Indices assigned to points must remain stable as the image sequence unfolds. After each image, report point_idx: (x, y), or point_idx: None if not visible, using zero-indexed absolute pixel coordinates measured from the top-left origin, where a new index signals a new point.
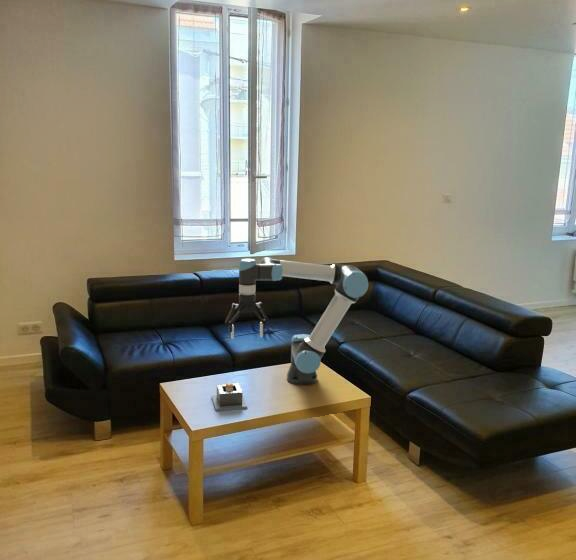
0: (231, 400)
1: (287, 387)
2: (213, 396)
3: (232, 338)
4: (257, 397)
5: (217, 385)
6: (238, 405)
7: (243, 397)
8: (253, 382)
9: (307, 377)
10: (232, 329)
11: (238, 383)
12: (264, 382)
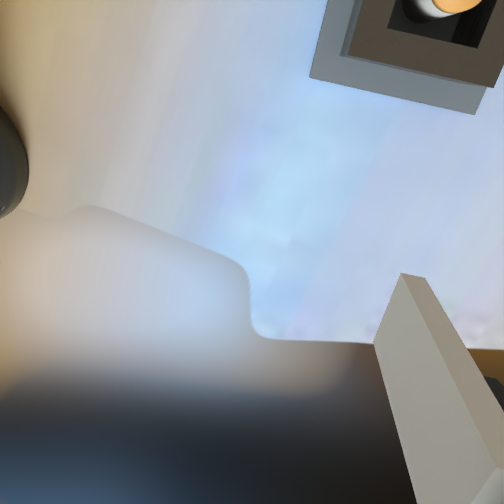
0: None
1: (46, 87)
2: (471, 100)
3: (423, 283)
4: (237, 20)
5: (494, 76)
6: None
7: (324, 15)
8: (191, 210)
9: None
10: (486, 391)
11: (348, 53)
12: (141, 190)
